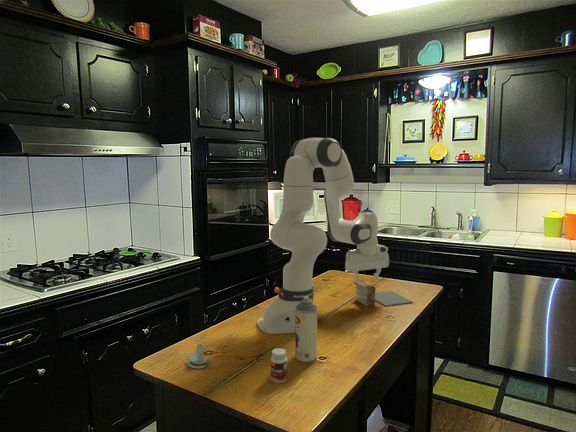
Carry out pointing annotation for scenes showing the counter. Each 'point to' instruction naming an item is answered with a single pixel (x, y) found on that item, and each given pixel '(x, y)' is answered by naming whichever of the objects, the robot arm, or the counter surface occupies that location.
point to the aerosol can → (306, 331)
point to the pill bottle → (279, 365)
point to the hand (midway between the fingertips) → (367, 278)
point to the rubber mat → (391, 299)
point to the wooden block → (365, 293)
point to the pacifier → (200, 360)
